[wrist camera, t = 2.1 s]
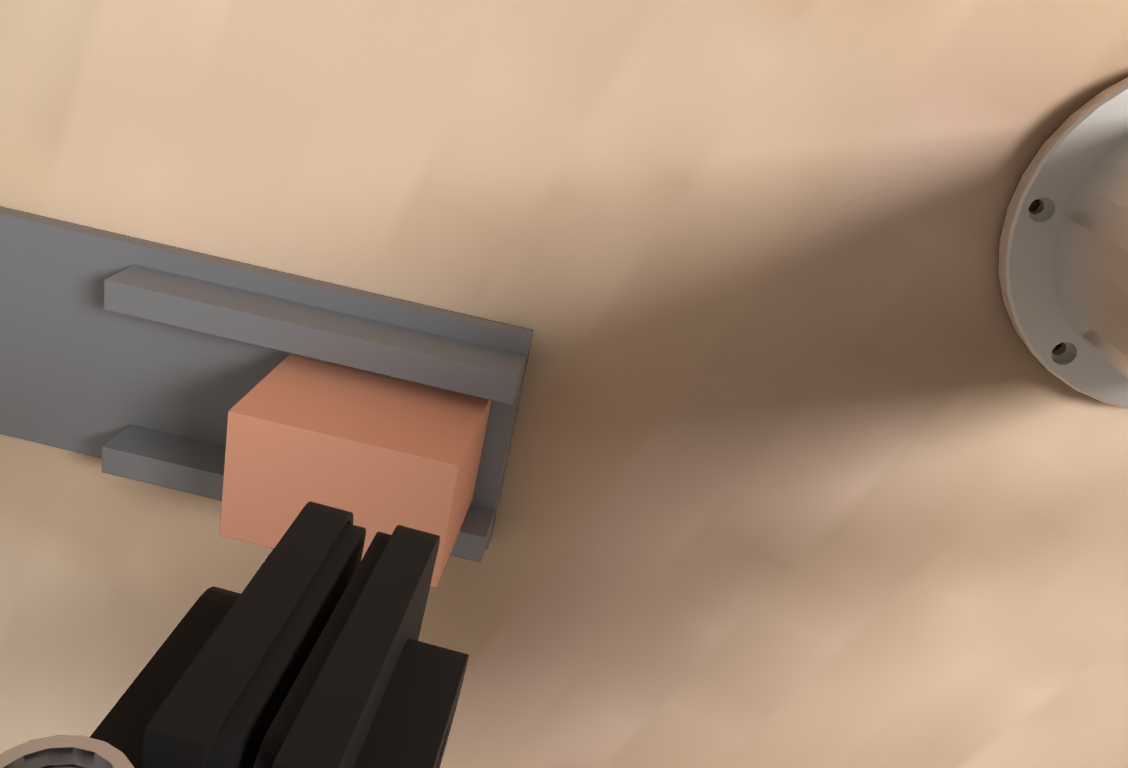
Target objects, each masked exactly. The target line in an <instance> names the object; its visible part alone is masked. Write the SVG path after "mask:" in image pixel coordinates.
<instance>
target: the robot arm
mask: <svg viewBox="0 0 1128 768" xmlns="http://www.w3.org/2000/svg"><path fill="white" fill-rule="evenodd" d="M1036 199H1039V201H1040V205H1039V207H1038V209H1037V210H1035V211H1033V212H1029V206H1030V205H1031V203H1032V202H1033V201H1034V200H1036ZM998 274H999V279H1000V285H1001V291H1002V296H1003V302H1004V305H1005V307H1006V310H1007V312H1008V315H1009V317H1010V319H1011V322H1012V324H1013V327H1014V329H1015V331H1016V332H1017V334H1018V335H1019V337H1020V338H1021V339H1022V341H1023V342H1024V344H1025V345H1026V346H1027V348H1028V349H1029V350H1030V352H1031V353H1032V355H1033V356H1034V357H1035V358H1036V359H1037V360H1038V361H1039V362H1040V363H1041V364H1042V365H1043V366H1044V367H1045V368H1046V369H1047V370H1048V371H1049V372H1051V373H1052V374H1053V375H1055V376H1056V377H1058V378H1059V379H1060V380H1062V381H1063V382H1065V383H1066V384H1067V385H1069V386H1070V387H1072V388H1073V389H1074V390H1076V391H1078V392H1081V393H1083V394H1085V395H1087V396H1090V397H1092V398H1094V399H1097V400H1099V401H1101V402H1103V403H1107V404H1112V405H1116V406H1120V407H1125V408H1128V77H1127V78H1125V79H1123V80H1121V81H1119V82H1118V83H1116V84H1114V85H1112V86H1110V87H1108V88H1107V89H1105V90H1103V91H1101V92H1100V93H1099V94H1098V95H1096V96H1095V97H1094V98H1092V99H1091V100H1090V101H1088V102H1087V103H1086V104H1084V105H1083V106H1082V107H1081V108H1079V109H1078V110H1077V111H1075V112H1074V113H1073V114H1071V115H1070V116H1069V117H1068V118H1067V119H1066V120H1065V121H1064V123H1063V124H1062V125H1061V126H1060V127H1059V128H1058V129H1057V130H1056V131H1055V132H1054V133H1053V134H1052V135H1051V136H1050V137H1049V138H1048V139H1047V141H1046V142H1045V143H1044V144H1043V145H1042V147H1041V148H1040V150H1039V151H1038V152H1037V154H1036V155H1035V157H1034V158H1033V160H1032V161H1031V163H1030V164H1029V166H1028V167H1027V169H1026V170H1025V172H1024V173H1023V175H1022V177H1021V179H1020V181H1019V183H1018V186H1017V188H1016V190H1015V192H1014V195H1013V197H1012V199H1011V201H1010V204H1009V206H1008V208H1007V212H1006V216H1005V221H1004V225H1003V229H1002V233H1001V237H1000V244H999V270H998ZM1060 343H1062V345H1061V347H1060V348H1059V349H1058V350H1056V351H1052V350H1053V349H1054V348H1055V346H1056V345H1058V344H1060ZM365 536H366V529H365V528H364V527H360V526H356V525H353V513H352V512H349V511H345V510H342V509H338V508H334V507H330V506H327V505H323V504H319V503H315V502H312V501H310V502H308V503H307V504H306V505H305V506H304V507H303V509H302V510H301V512H300V513H299V514H298V516H297V517H296V519H295V520H294V521H293V523H292V524H291V526H290V527H289V528H288V530H287V531H286V532H285V534H284V535H283V537H282V538H281V539H280V541H279V542H278V544H277V545H276V546H275V548H274V549H273V551H272V552H271V553H270V555H269V556H268V557H267V559H266V560H265V562H264V563H263V564H262V566H261V567H260V569H259V570H258V571H257V573H256V574H255V576H254V577H253V578H252V580H251V581H250V582H249V584H248V585H247V587H246V588H245V589H244V591H243V592H242V594H240V593H236V592H232V591H228V590H225V589H221V588H217V587H211V588H209V589H207V590H206V591H205V592H204V593H203V594H202V595H201V596H200V598H199V599H198V600H197V601H196V603H195V604H194V605H193V606H192V608H191V609H190V610H189V612H188V613H187V614H186V615H185V617H184V618H183V619H182V620H181V622H180V623H179V624H178V626H177V627H176V628H175V629H174V631H173V632H172V633H171V635H170V636H169V637H168V638H167V640H166V641H165V642H164V643H163V645H162V646H161V647H160V649H159V650H158V651H157V652H156V654H155V655H154V656H153V657H152V659H151V660H150V661H149V663H148V664H147V665H146V666H145V668H144V669H143V670H142V671H141V673H140V674H139V675H138V677H137V678H136V679H135V680H134V682H133V683H132V684H131V685H130V687H129V688H128V689H127V691H126V692H125V693H124V694H123V696H122V697H121V698H120V699H119V701H118V702H117V703H116V705H115V706H114V707H113V708H112V710H111V711H110V712H109V713H108V715H107V716H106V717H105V719H104V720H103V721H102V722H101V724H100V725H99V726H98V727H97V729H96V730H95V731H94V733H93V734H92V735H91V736H90V737H86V736H67V735H57V736H51V737H46V738H41V739H36V740H31V741H28V742H26V743H23V744H21V745H18V746H16V747H14V748H11V749H9V750H6V751H4V752H3V753H1V754H0V768H439V767H440V764H441V761H442V757H443V754H444V750H445V747H446V743H447V739H448V736H449V732H450V728H451V725H452V721H453V717H454V714H455V710H456V706H457V702H458V698H459V694H460V690H461V686H462V682H463V678H464V674H465V670H466V666H467V662H468V657H469V655H468V654H464V653H460V652H456V651H453V650H449V649H445V648H441V647H438V646H434V645H430V644H427V643H423V642H419V641H418V638H419V633H420V629H421V624H422V620H423V615H424V611H425V607H426V602H427V598H428V593H429V589H430V584H431V580H432V575H433V571H434V566H435V562H436V557H437V553H438V548H439V543H440V536H439V535H435V534H431V533H428V532H424V531H420V530H416V529H413V528H409V527H405V526H401V525H397V526H396V528H395V529H394V531H393V533H392V535H390V534H386V533H382V532H377V533H376V535H375V537H374V538H373V540H372V542H371V544H370V546H369V547H368V549H367V551H366V553H365V555H364V557H363V558H362V553H363V548H364V542H365ZM361 559H362V560H361Z"/></svg>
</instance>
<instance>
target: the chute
mask: <svg viewBox="0 0 1128 768" xmlns="http://www.w3.org/2000/svg"><path fill="white" fill-rule="evenodd" d="M532 334H533V330H530V329H525V328H521V327H517V326H512V325H508V324H504V323H499V322H495V321H491V320H487V319H482V318H478V317H474V316H469V315H465V314H461V313H456V312H452V311H448V310H444V309H439V308H435V307H431V306H426V305H422V304H418V303H413V302H409V301H405V300H401V299H396V298H392V297H388V296H383V295H379V294H375V293H370V292H366V291H362V290H358V289H353V288H349V287H345V286H340V285H336V284H332V283H327V282H323V281H319V280H314V279H310V278H306V277H302V276H297V275H293V274H289V273H284V272H280V271H276V270H271V269H267V268H263V267H259V266H254V265H250V264H246V263H241V262H237V261H233V260H228V259H224V258H220V257H216V256H211V255H207V254H203V253H198V252H194V251H190V250H185V249H181V248H177V247H173V246H168V245H164V244H160V243H155V242H151V241H147V240H142V239H138V238H134V237H130V236H125V235H121V234H117V233H112V232H108V231H104V230H99V229H95V228H91V227H87V226H82V225H78V224H74V223H69V222H65V221H61V220H56V219H52V218H48V217H44V216H39V215H35V214H31V213H26V212H22V211H18V210H13V209H9V208H5V207H1V206H0V434H3V435H7V436H11V437H16V438H20V439H24V440H28V441H32V442H37V443H41V444H45V445H49V446H53V447H58V448H62V449H66V450H70V451H74V452H79V453H83V454H87V455H91V456H95V457H100V458H102V472H104V473H108V474H112V475H116V476H120V477H125V478H129V479H133V480H137V481H141V482H145V483H150V484H154V485H158V486H162V487H166V488H171V489H175V490H179V491H183V492H187V493H192V494H196V495H200V496H204V497H208V498H213V499H217V500H221V501H222V493H223V479H224V465H225V451H226V437H227V423H228V411H229V410H230V409H231V408H232V407H233V406H235V405H236V404H237V403H238V402H239V401H240V400H241V399H242V398H243V397H244V396H245V395H246V394H247V393H249V392H250V391H251V390H252V389H253V388H254V387H255V386H256V385H257V384H258V383H259V382H260V381H262V380H263V379H264V378H265V377H266V376H267V375H268V374H269V373H270V372H271V371H272V370H273V369H274V368H276V367H277V366H278V365H279V364H280V363H281V362H282V361H283V360H284V359H285V358H286V357H287V356H288V355H290V354H291V353H293V354H297V355H302V356H306V357H310V358H314V359H319V360H323V361H327V362H331V363H336V364H340V365H344V366H349V367H353V368H357V369H361V370H366V371H370V372H374V373H378V374H383V375H387V376H391V377H395V378H400V379H404V380H408V381H413V382H417V383H421V384H425V385H430V386H434V387H438V388H442V389H447V390H451V391H455V392H459V393H464V394H468V395H472V396H477V397H481V398H485V399H489V400H491V406H490V411H489V416H488V421H487V426H486V432H485V437H484V442H483V447H482V452H481V458H480V463H479V468H478V473H477V479H476V484H475V489H474V494H473V499H472V501H471V504H470V506H469V509H468V511H467V514H466V516H465V519H464V521H463V524H462V526H461V528H460V531H459V533H458V536H457V538H456V541H455V543H454V546H453V548H452V551H451V553H450V555H452V556H456V557H460V558H464V559H468V560H473V561H477V562H481V560H482V557H483V554H484V551H485V549H486V550H487V549H488V546H489V543H490V540H491V535H492V530H493V525H494V520H495V515H496V510H497V505H498V501H499V496H500V491H501V486H502V481H503V476H504V471H505V466H506V461H507V457H508V452H509V447H510V442H511V437H512V432H513V427H514V422H515V417H516V413H517V408H518V403H519V398H520V393H521V388H522V383H523V378H524V373H525V369H526V364H527V359H528V354H529V349H530V344H531V339H532Z"/></svg>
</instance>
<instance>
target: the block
mask: <svg viewBox="0 0 1128 768" xmlns="http://www.w3.org/2000/svg"><path fill="white" fill-rule="evenodd" d="M490 406H491V400H489V399H485V398H481V397H477V396H472V395H468V394H464V393H459V392H455V391H451V390H447V389H442V388H438V387H434V386H430V385H425V384H421V383H417V382H413V381H408V380H404V379H400V378H395V377H391V376H387V375H383V374H378V373H374V372H370V371H366V370H361V369H357V368H353V367H349V366H344V365H340V364H336V363H331V362H327V361H323V360H319V359H314V358H310V357H306V356H302V355H297V354H293V353H291V354H290V355H288V356H287V357H286V358H285V359H284V360H283V361H282V362H281V363H280V364H279V365H278V366H277V367H276V368H274V369H273V370H272V371H271V372H270V373H269V374H268V375H267V376H266V377H265V378H264V379H263V380H262V381H260V382H259V383H258V384H257V385H256V386H255V387H254V388H253V389H252V390H251V391H250V392H249V393H247V394H246V395H245V396H244V397H243V398H242V399H241V400H240V401H239V402H238V403H237V404H236V405H235V406H233V407H232V408H231V409H230V410H229V411H228V423H227V437H226V451H225V465H224V479H223V493H222V507H221V521H220V536H224V537H229V538H233V539H237V540H241V541H245V542H249V543H254V544H258V545H262V546H266V547H270V548H275V546H276V545H277V544H278V542H279V541H280V539H281V538H282V537H283V535H284V534H285V532H286V531H287V530H288V528H289V527H290V526H291V524H292V523H293V521H294V520H295V519H296V517H297V516H298V514H299V513H300V512H301V510H302V509H303V507H304V506H305V505H306V504H307V503H308V502H310V501H312V502H315V503H319V504H323V505H327V506H330V507H334V508H338V509H342V510H345V511H349V512H352V513H353V525H356V526H360V527H364V528H365V529H366V536H365V542H364V548H363V553H362V558H363V557H364V555H365V553H366V551H367V549H368V547H369V546H370V544H371V542H372V540H373V538H374V537H375V535H376V533H377V532H382V533H386V534H390V535H392V533H393V531H394V529H395V528H396V526H397V525H401V526H405V527H409V528H413V529H416V530H420V531H424V532H428V533H431V534H435V535H439V536H440V543H439V548H438V553H437V557H436V562H435V566H434V571H433V575H432V580H431V584H430V586H433V587H437V585H438V583H439V580H440V578H441V575H442V573H443V570H444V568H445V565H446V563H447V561H448V558H449V556H450V553H451V551H452V548H453V546H454V543H455V541H456V538H457V536H458V533H459V531H460V528H461V526H462V524H463V521H464V519H465V516H466V514H467V511H468V509H469V506H470V504H471V501H472V499H473V494H474V489H475V484H476V479H477V473H478V468H479V463H480V458H481V452H482V447H483V442H484V437H485V432H486V426H487V421H488V416H489V411H490ZM361 560H362V559H361Z"/></svg>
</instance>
